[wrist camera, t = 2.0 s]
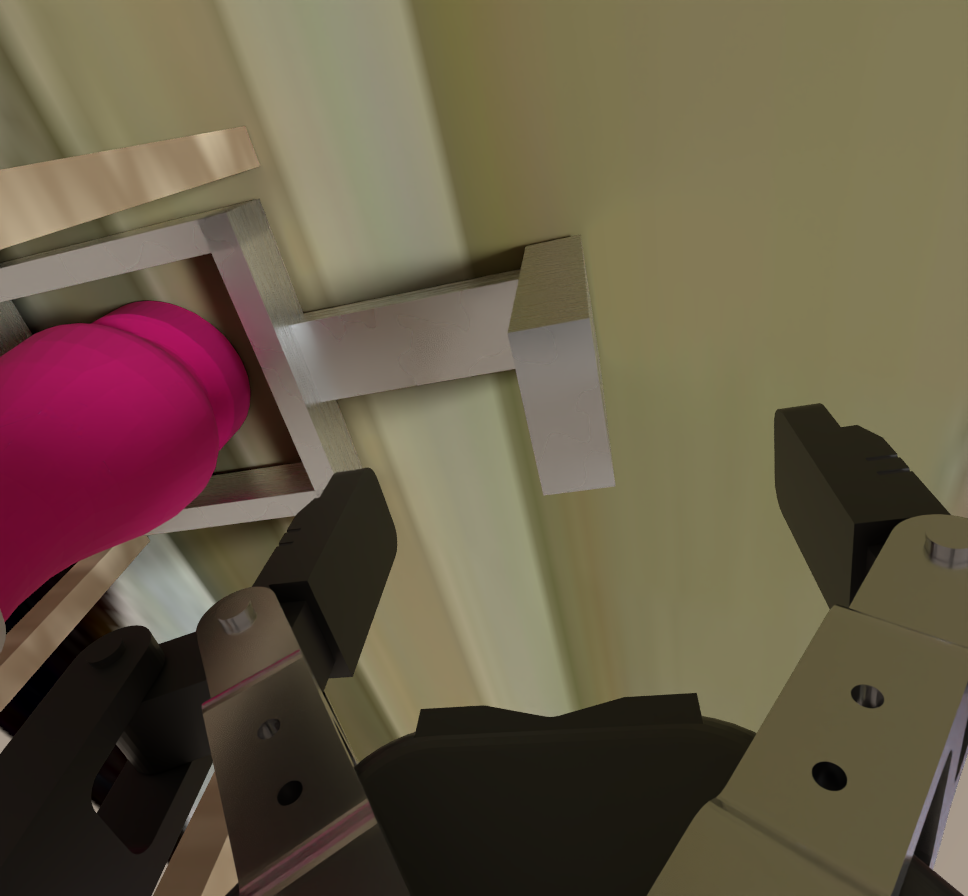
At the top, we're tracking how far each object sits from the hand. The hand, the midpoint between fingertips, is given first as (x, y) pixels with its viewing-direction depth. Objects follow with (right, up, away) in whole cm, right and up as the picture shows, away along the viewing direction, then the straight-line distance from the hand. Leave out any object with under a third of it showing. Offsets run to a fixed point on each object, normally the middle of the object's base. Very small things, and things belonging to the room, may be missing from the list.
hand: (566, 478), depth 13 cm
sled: (-9, +4, +11) cm, 15 cm away
